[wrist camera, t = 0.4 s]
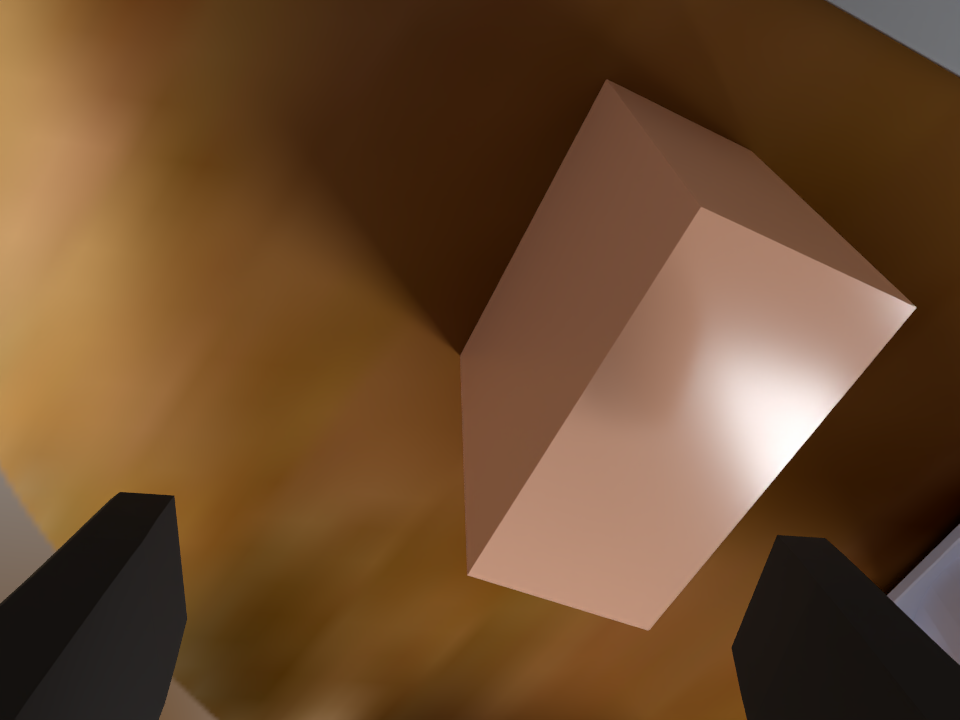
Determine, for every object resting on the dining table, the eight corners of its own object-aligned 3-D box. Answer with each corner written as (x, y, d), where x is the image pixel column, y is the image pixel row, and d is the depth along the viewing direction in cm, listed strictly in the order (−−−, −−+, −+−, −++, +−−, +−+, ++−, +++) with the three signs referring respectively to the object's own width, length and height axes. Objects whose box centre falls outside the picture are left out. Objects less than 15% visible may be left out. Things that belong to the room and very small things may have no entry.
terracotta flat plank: (750, 150, 17) (916, 307, 11) (588, 403, 20) (648, 630, 14) (605, 78, 16) (700, 206, 10) (459, 354, 19) (467, 575, 13)
